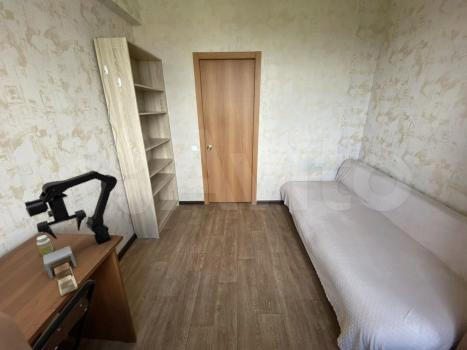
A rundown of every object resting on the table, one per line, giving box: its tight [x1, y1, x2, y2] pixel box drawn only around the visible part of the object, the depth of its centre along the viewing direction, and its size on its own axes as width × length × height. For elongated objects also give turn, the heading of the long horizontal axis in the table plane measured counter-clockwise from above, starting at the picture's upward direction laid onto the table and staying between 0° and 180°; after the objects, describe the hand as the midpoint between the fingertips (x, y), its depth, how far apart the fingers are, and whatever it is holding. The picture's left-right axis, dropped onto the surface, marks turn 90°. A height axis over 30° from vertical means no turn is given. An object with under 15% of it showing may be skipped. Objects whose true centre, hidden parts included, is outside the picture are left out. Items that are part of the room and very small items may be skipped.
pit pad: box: [50, 256, 71, 266], centre depth 103 cm, size 10×3×1 cm, turn 136°
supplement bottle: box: [36, 234, 55, 256], centre depth 107 cm, size 5×5×10 cm
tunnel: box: [42, 245, 78, 279], centre depth 96 cm, size 10×8×8 cm
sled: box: [53, 262, 79, 297], centre depth 89 cm, size 6×18×6 cm, turn 46°
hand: (67, 234), depth 103 cm, fingers open, 9 cm apart
